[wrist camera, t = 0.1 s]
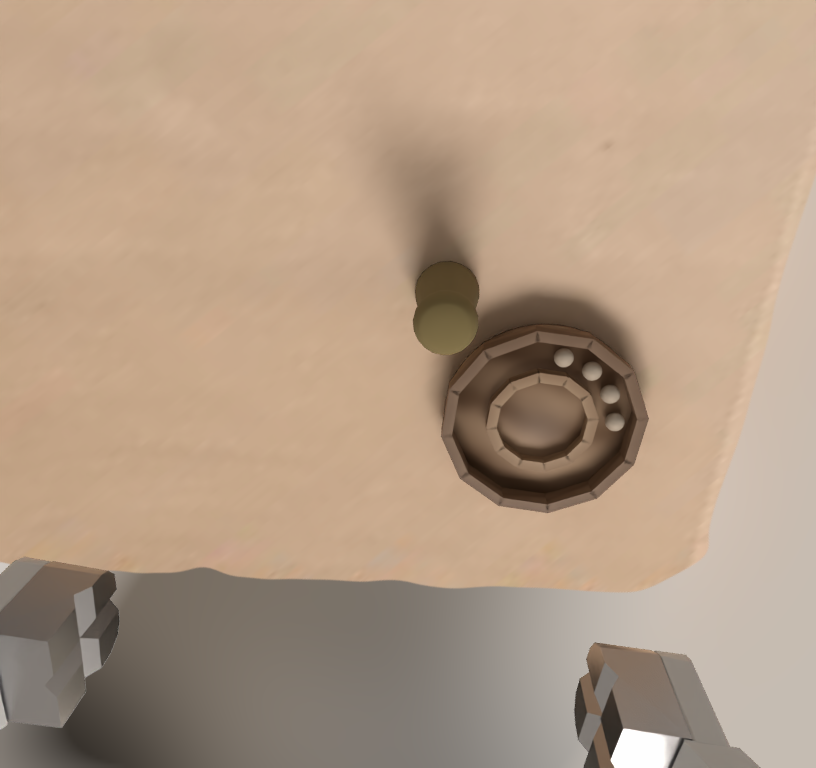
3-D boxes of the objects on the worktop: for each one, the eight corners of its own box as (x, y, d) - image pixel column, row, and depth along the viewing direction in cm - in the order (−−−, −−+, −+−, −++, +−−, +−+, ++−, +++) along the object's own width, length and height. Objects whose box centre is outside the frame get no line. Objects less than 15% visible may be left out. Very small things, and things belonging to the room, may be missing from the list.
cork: (459, 248, 55) (460, 276, 45) (491, 304, 57) (498, 343, 47) (403, 281, 56) (391, 315, 46) (435, 335, 58) (431, 378, 48)
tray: (460, 310, 57) (460, 320, 54) (660, 339, 57) (670, 349, 54) (432, 480, 65) (431, 495, 62) (608, 505, 64) (615, 522, 62)
